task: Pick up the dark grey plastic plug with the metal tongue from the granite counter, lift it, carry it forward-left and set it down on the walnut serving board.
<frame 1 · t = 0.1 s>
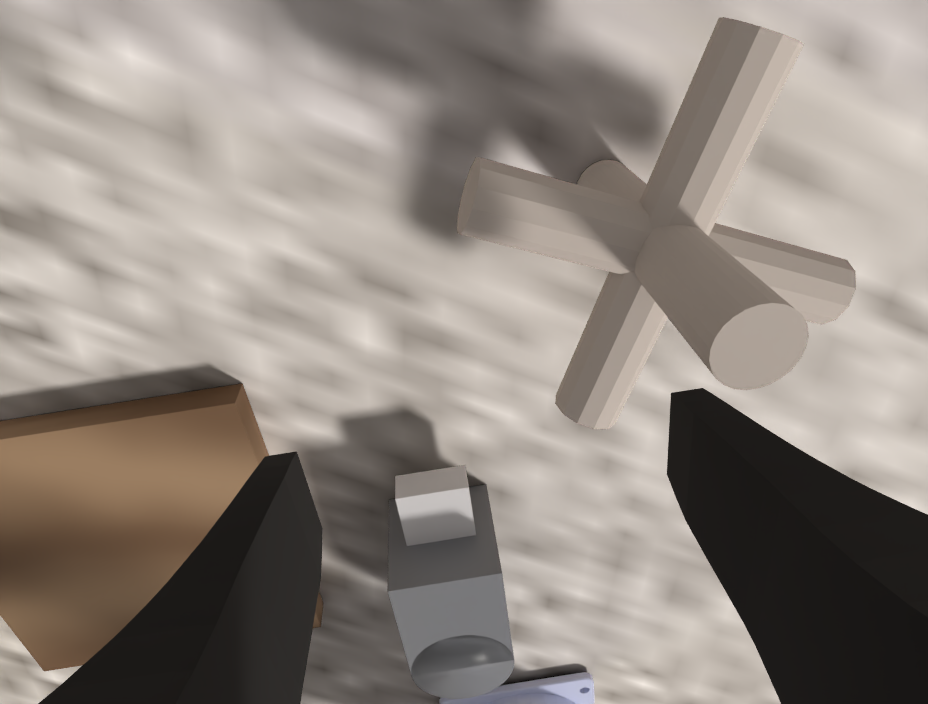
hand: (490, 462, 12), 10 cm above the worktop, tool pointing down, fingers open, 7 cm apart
plug: (446, 535, 27), on the worktop
board: (138, 530, 26), on the worktop
pipe connector: (602, 187, 20), on the worktop
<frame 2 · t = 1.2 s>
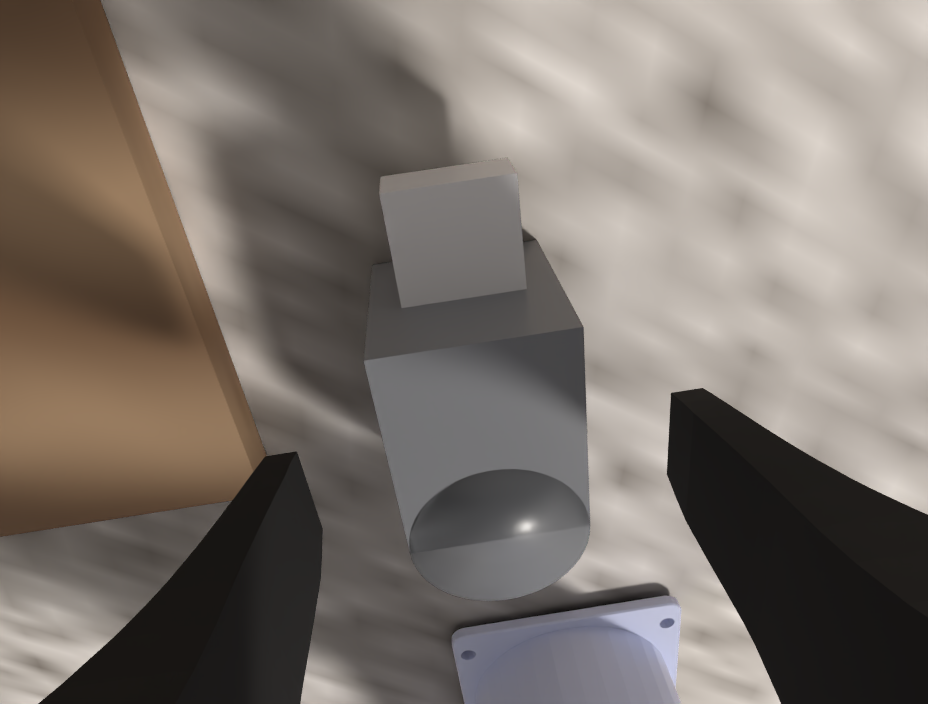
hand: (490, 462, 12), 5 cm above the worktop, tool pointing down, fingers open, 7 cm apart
plug: (467, 341, 17), on the worktop
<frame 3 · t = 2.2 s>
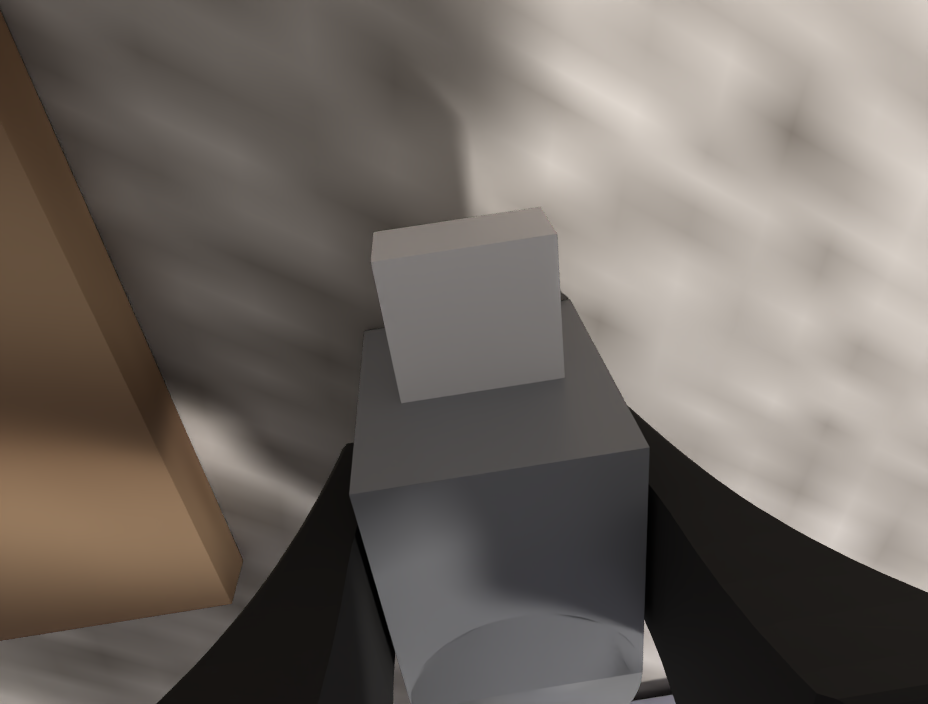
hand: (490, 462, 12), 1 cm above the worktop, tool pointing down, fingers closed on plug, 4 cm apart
plug: (481, 418, 14), on the worktop, touching gripper
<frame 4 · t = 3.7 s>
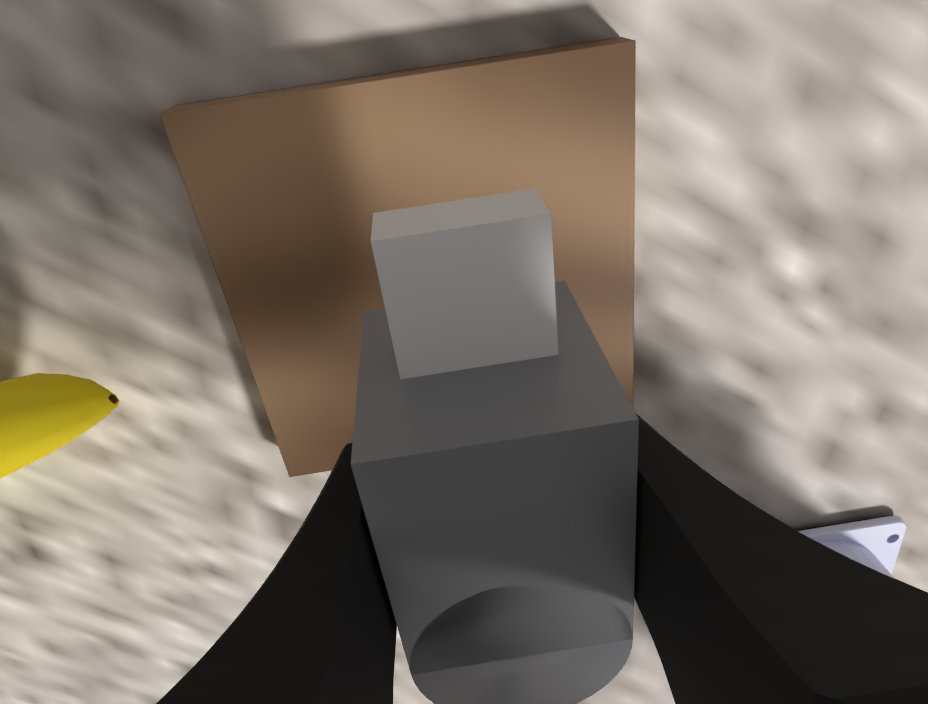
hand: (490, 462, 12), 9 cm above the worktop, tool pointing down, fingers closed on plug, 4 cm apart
plug: (478, 397, 14), point 7 cm above the worktop, touching gripper
board: (433, 277, 20), on the worktop
when the fingers open (4 cm above the worktop, at t = 5.1 s): plug stays where it is, resting on board.
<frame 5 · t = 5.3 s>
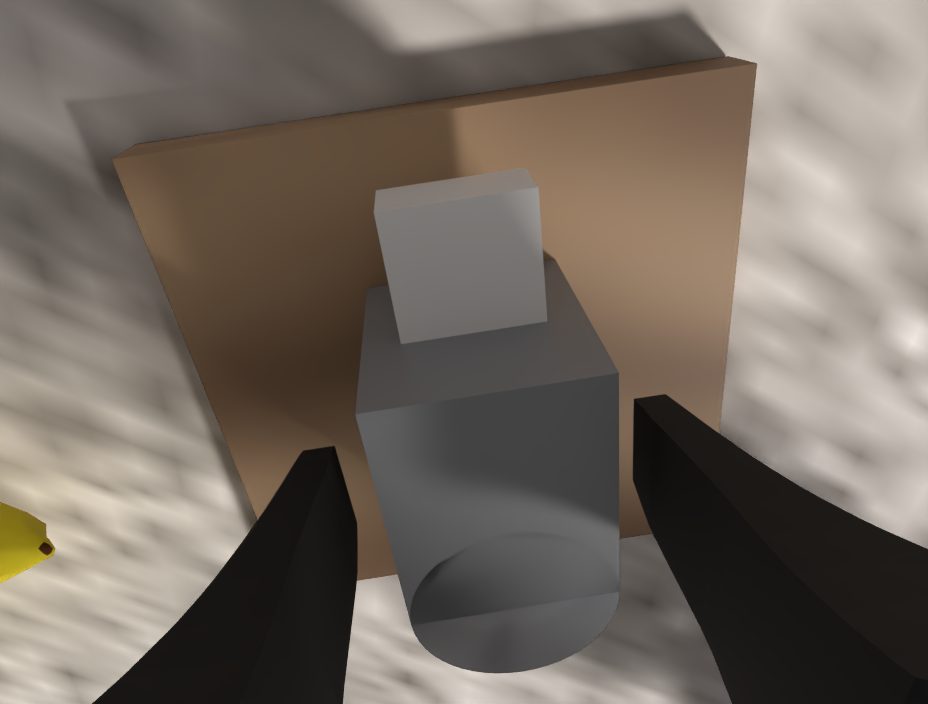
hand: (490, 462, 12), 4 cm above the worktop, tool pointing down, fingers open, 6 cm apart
plug: (475, 372, 15), point 1 cm above the worktop, touching board
board: (469, 354, 16), on the worktop
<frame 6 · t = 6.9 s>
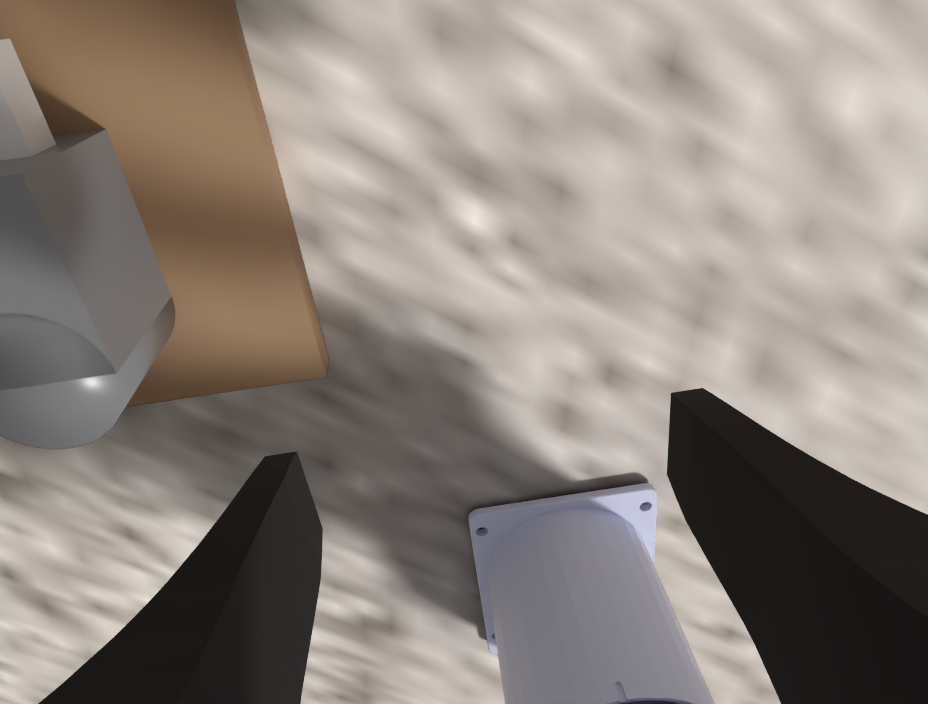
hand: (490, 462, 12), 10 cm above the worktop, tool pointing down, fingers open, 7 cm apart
plug: (71, 228, 18), point 1 cm above the worktop, touching board
board: (90, 222, 20), on the worktop
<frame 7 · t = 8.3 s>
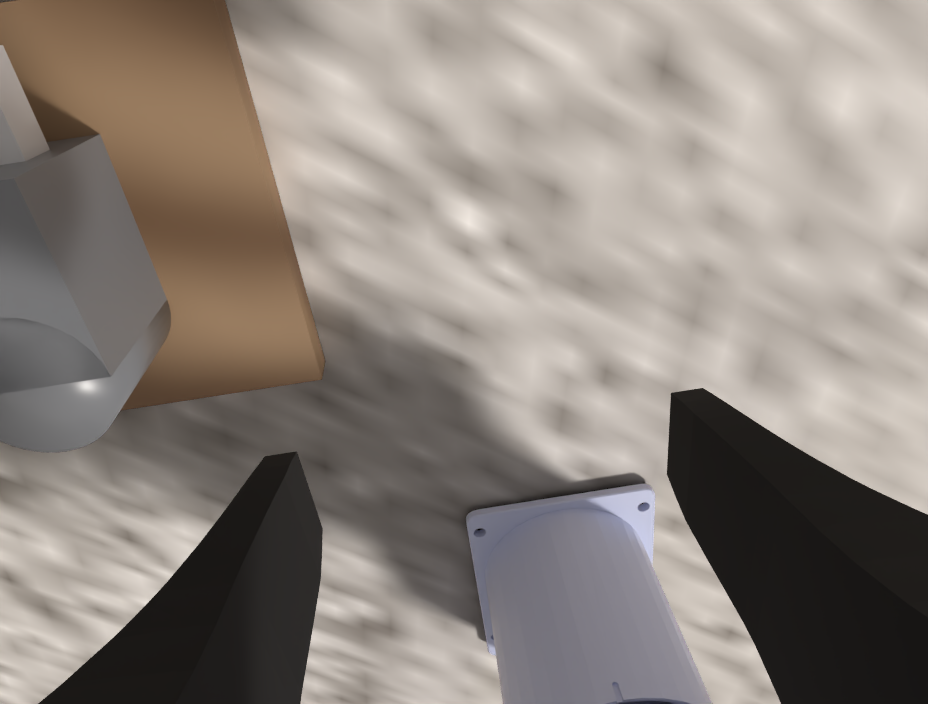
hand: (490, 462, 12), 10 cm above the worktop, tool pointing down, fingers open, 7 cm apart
plug: (67, 232, 19), point 1 cm above the worktop, touching board
board: (86, 226, 20), on the worktop
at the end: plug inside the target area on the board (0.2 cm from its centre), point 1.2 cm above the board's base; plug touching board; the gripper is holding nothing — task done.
